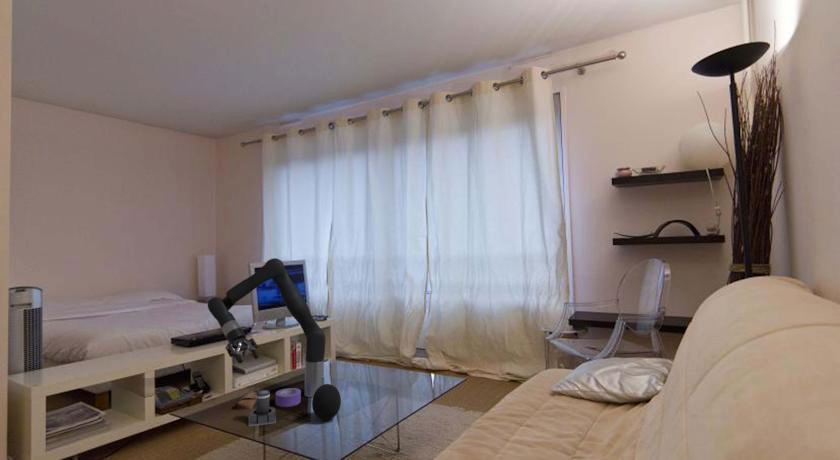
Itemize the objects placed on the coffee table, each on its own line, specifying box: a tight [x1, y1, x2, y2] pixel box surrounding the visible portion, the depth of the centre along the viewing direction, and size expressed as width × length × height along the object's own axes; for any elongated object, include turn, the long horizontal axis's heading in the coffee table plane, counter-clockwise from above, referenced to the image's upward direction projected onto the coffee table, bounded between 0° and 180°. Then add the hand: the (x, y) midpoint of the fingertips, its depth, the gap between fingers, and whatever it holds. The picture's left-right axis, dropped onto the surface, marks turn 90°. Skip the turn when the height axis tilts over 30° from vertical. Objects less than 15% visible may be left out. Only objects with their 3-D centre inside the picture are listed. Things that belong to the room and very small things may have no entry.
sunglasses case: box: [234, 389, 257, 410], centre depth 196 cm, size 18×7×7 cm, turn 3°
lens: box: [255, 389, 271, 415], centre depth 177 cm, size 5×5×11 cm
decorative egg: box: [311, 383, 342, 421], centre depth 179 cm, size 12×12×15 cm
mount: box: [248, 406, 277, 427], centre depth 177 cm, size 11×11×4 cm
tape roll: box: [274, 387, 302, 408], centre depth 198 cm, size 12×12×5 cm
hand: (249, 360), depth 187 cm, fingers open, 8 cm apart
